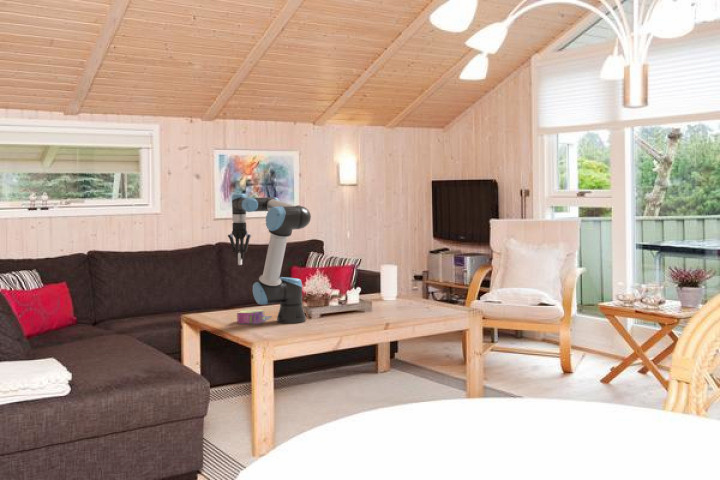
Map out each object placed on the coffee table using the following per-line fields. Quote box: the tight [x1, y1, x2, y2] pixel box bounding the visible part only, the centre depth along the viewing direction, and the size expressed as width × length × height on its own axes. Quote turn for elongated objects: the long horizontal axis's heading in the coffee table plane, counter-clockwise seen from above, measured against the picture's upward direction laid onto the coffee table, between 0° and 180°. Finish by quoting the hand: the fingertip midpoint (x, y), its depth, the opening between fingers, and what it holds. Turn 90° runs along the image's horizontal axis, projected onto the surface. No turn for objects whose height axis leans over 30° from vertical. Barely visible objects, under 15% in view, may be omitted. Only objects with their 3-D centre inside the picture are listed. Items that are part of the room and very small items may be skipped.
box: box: [236, 309, 266, 324], centre depth 386 cm, size 10×6×12 cm
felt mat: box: [238, 315, 273, 325], centre depth 393 cm, size 11×24×1 cm, turn 171°
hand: (240, 264), depth 406 cm, fingers closed
